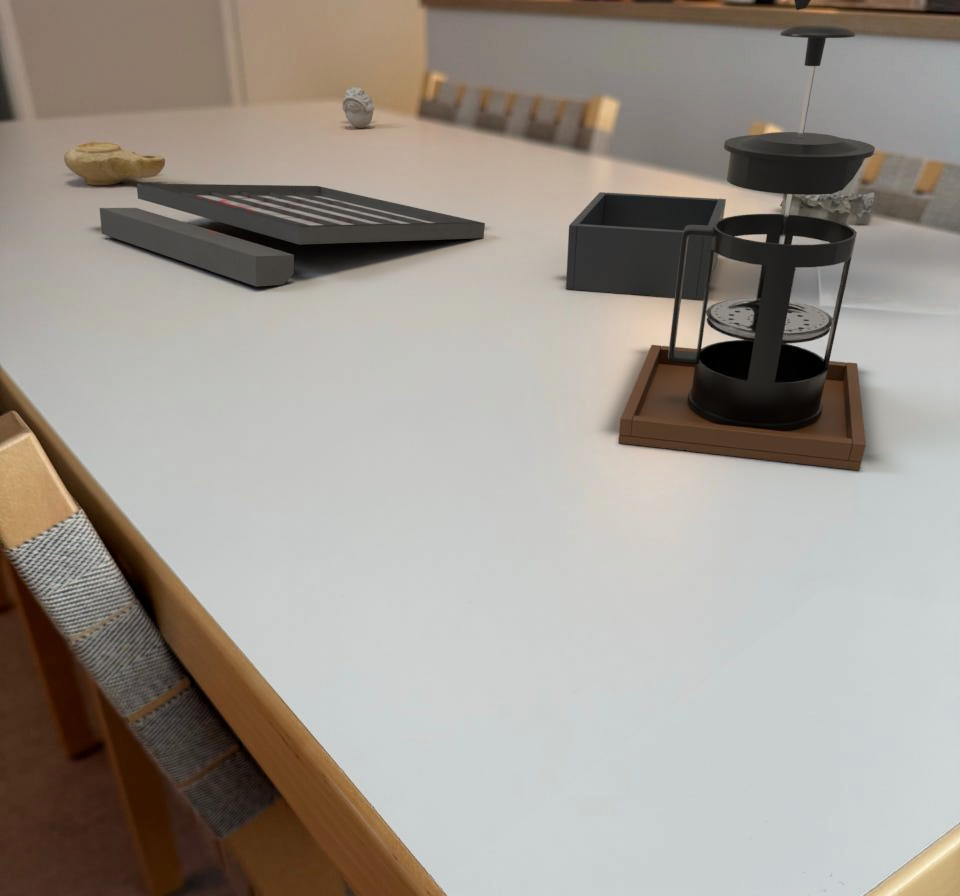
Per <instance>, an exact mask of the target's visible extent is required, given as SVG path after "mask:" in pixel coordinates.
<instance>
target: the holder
mask: <svg viewBox="0 0 960 896" xmlns="http://www.w3.org/2000/svg"><path fill="white" fill-rule="evenodd" d="M726 201H727V199H726V198H712V197H695V196H693V197H692V196H676V195H659V194H658V195H657V194H642V193H641V194H638V193H623V192H620V193H619V192H604V191H603V192H602V191H600V192H598V193H597V194H596V195H595V196H594V198H593V199H592V200H591V201H590V202H589V203H588V204H587V205H586V207H585V208H584V209H582V211H581V212H580V213H579V214H578V215H577V216H576V217H575V218H574V219H573V221H572V222H570V224H569V225H568V238H567V239H568V241H567V259H566V278H565V289H566V290H571V291H572V290H574V291H583V292H584V291H585V292H595V293H596V292H598V293H608V292H609V293H610V294H621V293H624V294H623V295H633V294H636V295H635V296H646V295H649V297H659V296H662V297H661V298H671V297H674V298H673V299H675V293H676V284H677V275H678V267H679V258H680V249H681V241H682V235H683V231H684V228H685V227H686V226H687V225H707V226H713V225H714V224H715V222H717V221H718V220H720V219H724V218H725V208H726ZM711 240H712V236H695V235H690V236H688V245H687V253H686V262H685V270H684V278H683V287H682V295H681V299H684V298H687V299H686V300H697V299H700V300H701V301H704V293H705V286H706V278H707V270H708V263H709V255H710V248H711ZM718 259H719V254H717V253H715V252H714V257H713V265H712V272H711V278H712V277H713V274H714V271H715V268H716V264H717V261H718Z"/></svg>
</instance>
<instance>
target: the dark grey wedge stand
mask: <svg viewBox="0 0 960 896" xmlns="http://www.w3.org/2000/svg"><path fill="white" fill-rule="evenodd" d="M136 190H137V192H136V193H137V199H138V200H141V201H144V202H149V203H152V204H155V205H159V206H163V207H165V208H166V207H167V208H170V209H173V210H176V211H180V212H184V213H187V214H191V215H194V216H198V217H201V218H205V219H208V220H211V221H215V222H217V223H218V222H220V223H222V224H225V225H229V226H232V227H236V228H239V229H243V230H247V231H250V232H254V233H257V234H260V235H265V236H268V237H271V238H274V239H278V240H282V241H285V242H289V243H292V244H296V245H325V244H351V243H352V244H353V243H380V242H381V243H382V242H407V241H408V242H410V241H439V240H440V241H441V240H466V239H468V240H469V239H470V240H471V239H484V238H485V227H486V222H482V221H478V220H474V219H469V218H464V217H459V216H455V215H451V214H446V213H442V212H438V211H437V212H436V211H434V210H433V211H432V210H427V209H424V208H419V207H414V206H411V205H410V206H409V205H406V204H401V203H398V202H393V201H387V200H384V199H383V200H382V199H379V198H374V197H370V196H365V195H361V194H357V193H352V192H346V191H344V190H339V189H334V188H329V187H326V186H325V187H324V186H320V185H283V184H281V185H277V184H276V185H275V184H274V185H273V184H213V183H212V184H211V183H209V184H208V183H204V184H203V183H202V184H201V183H145V182H144V183H141V182H139V183H136ZM99 219H100V229H101V234H102V235H104V236H107V237H110V238H113V239H116V240H119V241H122V242H125V243H128V244H131V245H133V246H136V247H139V248H142V249H145V250H148V251H152V252H154V253H157V254H160V255H162V256H165V257H169V258H170V259H175V260H177V261H180V262H184V263H186V264H189V265H193V266H195V267H198V268H200V269H203V270H206V271H210V272H212V273H215V274H218V275H222V276H224V277H227V278H230V279H232V280H236V281H238V282H242V283H245V284H248V285H251V286H253V287H267V286H269V287H270V286H283V285H284V284H285V283H287V281H289V280H290V279H291V278H292V277H293V275H295V254H293V253H289V252H286V251H283V250H279V249H275V248H274V247H273V248H272V247H269V246H266V245H263V244H259V243H256V242H252V241H249V240H247V239H242V238H240V237H236V236H232V235H228V234H226V233H223V232H218V231H215V230H212V229H209V228H206V227H201V226H199V225H195V224H191V223H189V222H185V221H183V220H179V219H175V218H171V217H168V216H165V215H161V214H158V213H156V212H155V213H154V212H151V211H148V210H145V209H141V208H138V207H99Z"/></svg>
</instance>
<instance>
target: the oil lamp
mask: <svg viewBox="0 0 960 896" xmlns="http://www.w3.org/2000/svg"><path fill="white" fill-rule="evenodd" d="M63 159H64V161H63V162H64V164H65V166H66V167H67V168H68V170H70V171H71V172H72V173H73V174H75V175H76V176H79V177H81V178H82V179H83V180H84V182H85V183H86V184H87V185H90V186H110V185H111V186H112V185H116V184H119V183H121V182H122V181H124V180H127V179H148V178H153V177H157V175H159V174H160V173H161V172H162V171H163V169H164V168H165V165H166V159H165V157H162V156H161V155H159V154H143V153H136V152H135V151H129V150H124V149H122V148H121V146H120V145H119V144H118V143H113V142H106V141H105V142H104V141H103V142H100V141H99V142H98V141H90V142H85V143H79V144H77V145H76V146H75V147H74V148H70V149H68V150H67V151H65V152H64V154H63Z"/></svg>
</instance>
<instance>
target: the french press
mask: <svg viewBox="0 0 960 896" xmlns="http://www.w3.org/2000/svg"><path fill="white" fill-rule="evenodd" d="M780 36H782V37H790V38H807V43H806V51H805V57H804V58H805V59H804V66H805V67H808V69H807V75H806V82H805V85H804V86H805V87H804V93H803V99H802V105H801V110H800V116H799V121H798V123H799V124H798V126H797V127H798V128H797V131H779V132H778V131H777V132H776V131H775V132H767V133H761V134H752V135H751V134H749V135H742V136H735V137H731V138H728V139H726V140H724V143H723V148H724V150H725V151H726V152H729V158H728V159H729V160H728V168H727V173H726V175H727V176H726V182H728V183H729V184H730V185H733V186H735V187H738V188H741V189H746V190H751V191H755V192H761V193H762V192H764V193H771V194H772V193H773V194H779V195H782V194H783V195H784V194H787V197H786V203H785V209H784V214H781V213H751V214H750V213H748V214H739V215H732V216H726V217H723V219H720V220H718V221H717V222H715V224H714V225H713V226H707V225H687V226H686V227H685V228H684V231H683V235H682V241H681V249H680V258H679V267H678V275H677V284H676V293H675V298H674V302H673V311H672V320H671V327H670V336H669V337H670V338H669V345H668V346H669V354H668V358H669V361H670V362H674V363H685V364H695V369H694V376H693V384H692V388H691V389H690V391H689V393H688V398H687V399H688V405H689V407H690V408H691V410H692V411H694V412H695V413H696V414H697V415H699V416H701V417H702V418H704V419H706V420H709V421H711V422H714V423H717V424H720V425H728V426H737V427H746V428H756V429H765V430H774V431H787V430H794V429H799V428H803V427H806V426H808V425H811V424H812V423H814V422H816V421H817V420H818V419H819V417H820V416H821V413H822V408H823V405H822V402H821V398H822V393H823V388H824V384H825V379H826V374H827V370H828V365H829V361H831V360H830V359H831V356H832V352H833V351H832V350H833V346H834V341H835V336H836V332H837V328H838V323H839V317H840V313H841V310H842V309H841V308H842V304H843V299H844V296H845V295H844V294H845V291H846V285H847V281H848V277H849V276H848V275H849V271H850V266H851V262H852V257H853V252H854V247H855V243H856V239H857V231H856V229H855V228H854V227H851V225H846V224H845V223H841V222H835V221H832V220H827V219H822V218H816V217H809V216H800V215H790V209H791V203H792V197H793V194H798V195H822V194H836V193H839V192H842V191H843V190H844V189H845V188H846V187H847V186H848V185H849V184H850V183H851V182H852V181H853V180H854V178H855V176H856V175H857V173H859V170H860V169H861V167H862V166H863V163H864V161H865V160H866V159H868V158H872V156H874V154H875V150H876V147H875V146H874V145H872V144H870V143H867V142H865V141H860V140H856V139H850V138H844V137H841V136H840V137H839V136H836V135H831V134H825V133H817V132H805V128H806V123H807V117H808V110H809V107H810V106H809V105H810V100H811V93H812V87H813V83H814V77H815V72H816V71H815V70H816V67H820V66H821V65H822V59H823V54H824V50H825V44H826V41H827V39H846V38H848V39H849V38H855V37H856V32H854V31H852V30H851V29H848V28H844V27H840V26H834V25H833V26H832V25H801V26H793V27H790V28H787V29H785V30H783V31H781V32H780ZM690 235H695V236H712V240H711V248H710V255H709V263H708V270H707V278H706V286H705V293H704V300H702V308H701V309H702V310H701V315H700V317H701V318H700V325H699V331H698V339H697V346H696V349H697V353H696V352H683V351H677V350H676V349H675V347H677V346H676V345H677V338H678V337H677V336H678V329H679V328H678V327H679V320H680V311H681V303H682V298H681V295H682V287H683V278H684V270H685V262H686V253H687V245H688V236H690ZM755 235H758V236H759V235H761V236H762V235H766V237H765V242H764V241H757V240H751V239H746V238H741V236H755ZM794 237H799V238H807V239H813V240H818V241H822V242H826V243H816V244H815V243H814V244H793V238H794ZM714 252H715V253H717V254H718V256H721V257H724V258H726V259H729V260H732V261H737V262H740V263H745V264H751V265H756V266H757V265H758V266H761V268H760V275H759V279H758V286H757V292H756V297H753V298H751V297H750V298H747V297H746V298H734V299H728V300H724V301H720V302H716V303H714V304H712V305H710V306H709V307H708V301H709V293H710V286H711V280H712V277H711V272H712V265H713V257H714ZM842 263H843V267H842V273H841V278H840V282H839V287H838V290H837V291H838V292H837V296H836V300H835V306H834V310H833V315H832V316H831V315H830V314H829V313H828V312H826V311H825V310H822V309H820V308H818V307H815V306H813V305H809V304H807V303H806V304H805V303H801V302H797V301H792V300H791V294H792V289H793V284H794V279H795V274H796V273H795V272H796V268H800V269H801V268H820V267H821V268H822V267H828V266H835V265H838V264H842ZM706 323H707V325H708V326H709V327H710V328H711V329H712V330H715V331H716V332H719V333H720V334H723V335H726V336H727V337H728V336H729V337H731V338H734V339H733V340H725V341H719V342H718V341H717V342H715V343H711V344H708V345H706V346H704V347H702V346H703V338H704V331H705V324H706ZM826 335H828V338H827V343H826V347H825V353H824V357H823V356H821V355H819V354H818V353H816V352H814V351H811V350H809V349H806V348H804V347H799V346H797V345H793V344H799V343H806V342H812V341H816V340H818V339H821V338H823V337H825V336H826Z"/></svg>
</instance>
